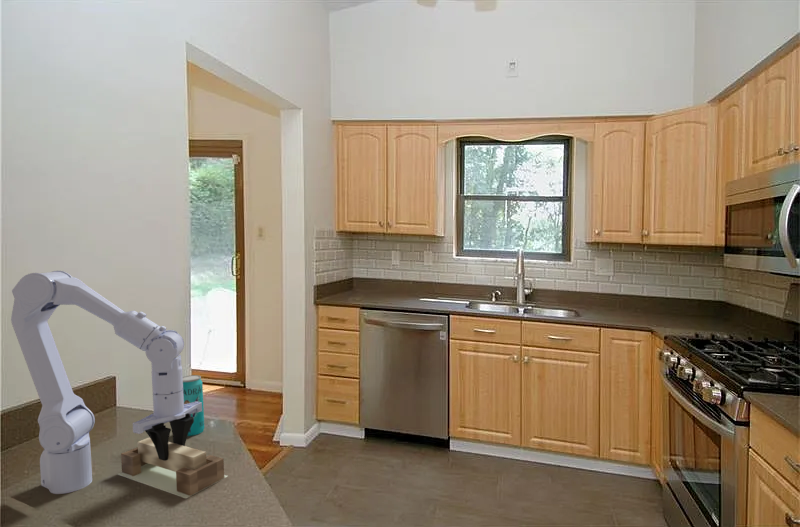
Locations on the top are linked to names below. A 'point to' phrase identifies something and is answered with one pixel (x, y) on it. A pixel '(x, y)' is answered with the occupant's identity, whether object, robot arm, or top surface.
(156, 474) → the base board
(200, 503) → the top surface
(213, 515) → the top surface
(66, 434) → the robot arm
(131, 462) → the left end cap
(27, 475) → the top surface
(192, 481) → the right end cap
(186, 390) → the beverage can
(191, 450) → the slat
